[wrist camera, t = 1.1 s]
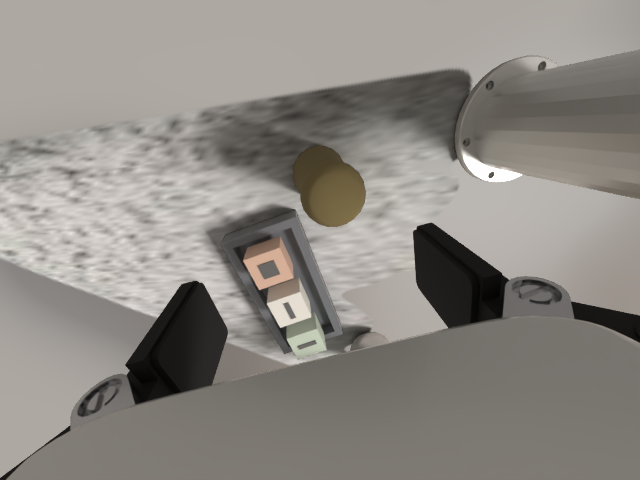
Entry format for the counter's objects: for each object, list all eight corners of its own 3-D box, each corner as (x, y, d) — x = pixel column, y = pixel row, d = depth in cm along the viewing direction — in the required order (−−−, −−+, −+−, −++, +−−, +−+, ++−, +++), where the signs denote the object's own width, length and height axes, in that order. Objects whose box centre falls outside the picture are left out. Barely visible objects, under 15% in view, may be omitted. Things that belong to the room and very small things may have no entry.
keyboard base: (295, 209, 30) (296, 216, 27) (339, 321, 38) (343, 333, 36) (225, 234, 30) (220, 243, 28) (284, 340, 38) (284, 354, 36)
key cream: (298, 277, 31) (299, 292, 28) (309, 301, 32) (311, 317, 30) (268, 287, 31) (266, 304, 28) (280, 311, 32) (280, 328, 30)
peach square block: (280, 235, 28) (279, 248, 25) (293, 264, 30) (293, 278, 27) (247, 247, 28) (242, 261, 25) (261, 275, 30) (259, 290, 27)
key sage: (314, 312, 33) (317, 329, 30) (323, 332, 35) (326, 350, 32) (286, 321, 33) (286, 339, 31) (297, 341, 35) (297, 360, 32)
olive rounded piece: (281, 173, 28) (277, 199, 18) (321, 133, 26) (341, 137, 16) (317, 210, 30) (332, 252, 20) (355, 175, 29) (392, 201, 19)
